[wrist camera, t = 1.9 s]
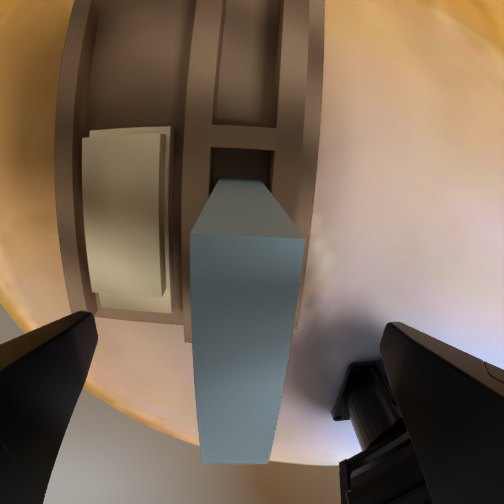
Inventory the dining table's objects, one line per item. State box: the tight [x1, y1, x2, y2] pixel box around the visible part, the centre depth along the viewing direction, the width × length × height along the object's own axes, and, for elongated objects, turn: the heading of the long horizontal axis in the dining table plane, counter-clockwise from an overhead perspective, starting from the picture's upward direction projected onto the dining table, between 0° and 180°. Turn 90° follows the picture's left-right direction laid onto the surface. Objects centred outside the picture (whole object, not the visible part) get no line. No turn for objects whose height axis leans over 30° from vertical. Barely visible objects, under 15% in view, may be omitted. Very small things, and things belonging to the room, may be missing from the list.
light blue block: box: [190, 176, 305, 464], centre depth 12 cm, size 7×2×11 cm, turn 176°
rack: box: [55, 0, 325, 343], centre depth 14 cm, size 22×14×4 cm, turn 176°
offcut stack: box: [82, 126, 175, 313], centre depth 15 cm, size 10×4×2 cm, turn 176°
